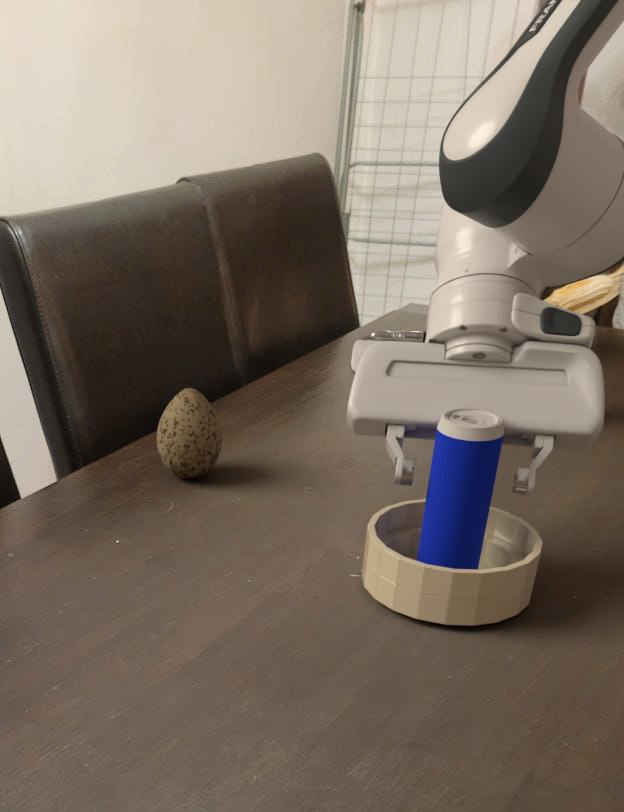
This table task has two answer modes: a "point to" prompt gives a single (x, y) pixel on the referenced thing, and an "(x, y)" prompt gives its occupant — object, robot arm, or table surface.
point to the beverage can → (460, 488)
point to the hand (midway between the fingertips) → (462, 487)
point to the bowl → (450, 569)
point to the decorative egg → (189, 435)
